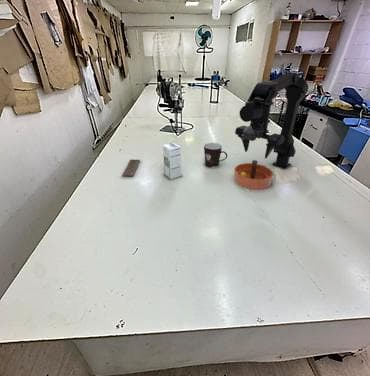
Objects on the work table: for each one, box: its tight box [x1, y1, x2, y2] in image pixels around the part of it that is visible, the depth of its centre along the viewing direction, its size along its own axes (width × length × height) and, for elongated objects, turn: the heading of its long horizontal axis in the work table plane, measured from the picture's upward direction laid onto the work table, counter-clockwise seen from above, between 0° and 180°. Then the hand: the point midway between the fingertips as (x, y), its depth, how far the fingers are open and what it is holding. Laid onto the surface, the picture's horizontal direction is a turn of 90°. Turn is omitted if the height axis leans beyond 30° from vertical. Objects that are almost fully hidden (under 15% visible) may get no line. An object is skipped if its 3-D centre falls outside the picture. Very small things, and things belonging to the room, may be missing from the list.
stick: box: [250, 159, 258, 179], centre depth 99 cm, size 2×2×9 cm
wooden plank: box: [122, 158, 141, 177], centre depth 111 cm, size 17×1×5 cm
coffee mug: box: [203, 142, 228, 169], centre depth 113 cm, size 12×9×10 cm
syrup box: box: [162, 142, 182, 180], centre depth 103 cm, size 6×6×14 cm
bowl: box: [233, 162, 274, 191], centre depth 100 cm, size 16×16×5 cm
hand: (255, 154), depth 96 cm, fingers open, 9 cm apart
